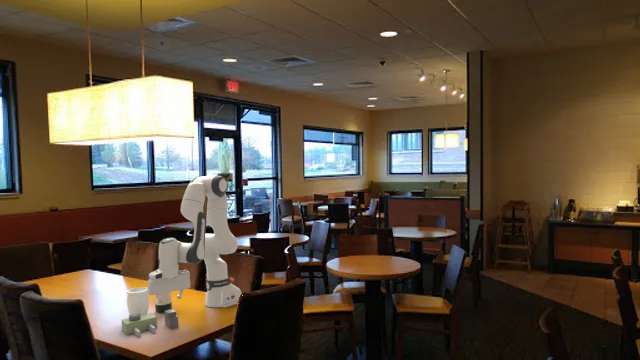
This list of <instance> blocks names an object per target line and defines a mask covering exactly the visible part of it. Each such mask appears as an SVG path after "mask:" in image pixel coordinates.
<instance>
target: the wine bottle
mask: <svg viewBox="0 0 640 360" xmlns="http://www.w3.org/2000/svg"><path fill="white" fill-rule="evenodd" d="M159 264H160V260H159V256H158V257H157V265H158V268H157V270H158V269H159ZM158 297H159V298H161V299H162V303H158V299H157V298H156V296H155V295H154V304H155V306H154V307H155V313H157V314H158V313H159V314H165V311H166V310H170V309H173V305H172V302H173V301H172V292H166V293H161V294H159V296H158Z"/></svg>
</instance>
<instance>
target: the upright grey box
mask: <svg viewBox="0 0 640 360" xmlns="http://www.w3.org/2000/svg"><path fill="white" fill-rule="evenodd" d="M164 324H165V326H166V327H167V328H169V329H170V330H171V329H175V328H178V327H179V316H178V315H177V311H176V309H173V308H172V309H170V310H166V311H165V313H164Z"/></svg>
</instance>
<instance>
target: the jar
mask: <svg viewBox="0 0 640 360" xmlns="http://www.w3.org/2000/svg"><path fill="white" fill-rule="evenodd" d="M126 294H127V296H126V297H127V298H126V306H127V310H128V314H129V315H131V314H135V313H139V314H140V315H144V314H149V306H150V295H149V294H148V293H147V286H145V287H144V286H138V287H133V288H129V289H127V290H126Z"/></svg>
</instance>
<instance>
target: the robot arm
mask: <svg viewBox="0 0 640 360" xmlns="http://www.w3.org/2000/svg"><path fill="white" fill-rule="evenodd" d="M227 189H228V181H227V180H226V178H225V176H221V175H205V176H195V177H193V178H192V179H190V181H189V184H188V185H187V187H186V189H185V191H184V194H183V197H182V200H181V204H180V214H181V215H182V216H183V217H184V218H185V219H187V220H188V221H190V222H191V223H192V224H193V226H194V229H193V231H194V232H193V240H192V242H189V243H188V242H182V241H179V240H177V239H176V238H175V237H167V238H164V239H162V240H160V241H159V245H158V257H159V260H160V264H159V269H158V268H157V269H156V270H154V271H151V272H150V273H149V274H148V277H149V279H147V284H146V287H147V293H148V294H149V296H154V297H155V296H156V298H157V299H158V303H162V299H161V298H159V297H158V296H159V294H161V293H166V292H171V293H172V292H176V291H179V293H178V294H177V295H176V297H177V300H182V295H183V293H184V290H187V289H190V288H191V278H190V277H191V272H190V271H189V270H188V269H182V270H179V263H185V264H192V265H198V264H200V263H201V262H202V261H203V260H204V264H205V269H206V290H207V291H206V299H205V304H204V305H205V307H208V308H228V307H230V306H235V305H238V304H237V302H238V299H239V297H240V295H241V294H242V291H241V289H240V288H239V287H237V286H236V285H234V284H233V282H234V281H235V279H234V278H233V277H229V276H228V264H227V262H226V261H225V260H223V259H222V258H221V256H220V255H229V254H233V253H235V252H236V251H237V249H238V246H239V245H238V244H239V243H238V242H239V241H238V238H237V237H236V236H234V234H233V233H232V232H231V229H230V228H229V225H228V198H227V193H226V192H227ZM206 197H207V203H206V204H207V206H206V214H205V213H204V205H205V200H206ZM207 225H208V226H209V227H211V228H212V230H213V233H207V231H206V230H207V229H206V228H207Z"/></svg>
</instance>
